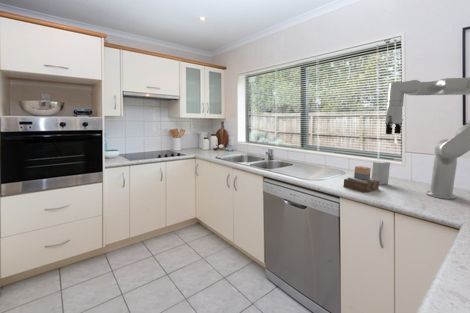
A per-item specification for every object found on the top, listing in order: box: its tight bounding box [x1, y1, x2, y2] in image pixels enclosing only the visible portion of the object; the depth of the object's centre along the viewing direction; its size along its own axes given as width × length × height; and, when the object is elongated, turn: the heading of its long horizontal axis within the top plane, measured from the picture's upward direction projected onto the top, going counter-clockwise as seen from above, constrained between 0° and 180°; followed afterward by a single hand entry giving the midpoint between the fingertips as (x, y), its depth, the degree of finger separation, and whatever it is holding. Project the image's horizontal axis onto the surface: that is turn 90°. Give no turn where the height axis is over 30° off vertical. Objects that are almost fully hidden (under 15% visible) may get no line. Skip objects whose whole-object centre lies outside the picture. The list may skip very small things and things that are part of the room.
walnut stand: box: [343, 176, 380, 193], centre depth 152 cm, size 14×14×6 cm
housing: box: [353, 165, 372, 180], centre depth 151 cm, size 5×7×7 cm
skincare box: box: [371, 160, 391, 186], centre depth 162 cm, size 8×6×15 cm
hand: (393, 133), depth 145 cm, fingers open, 9 cm apart
